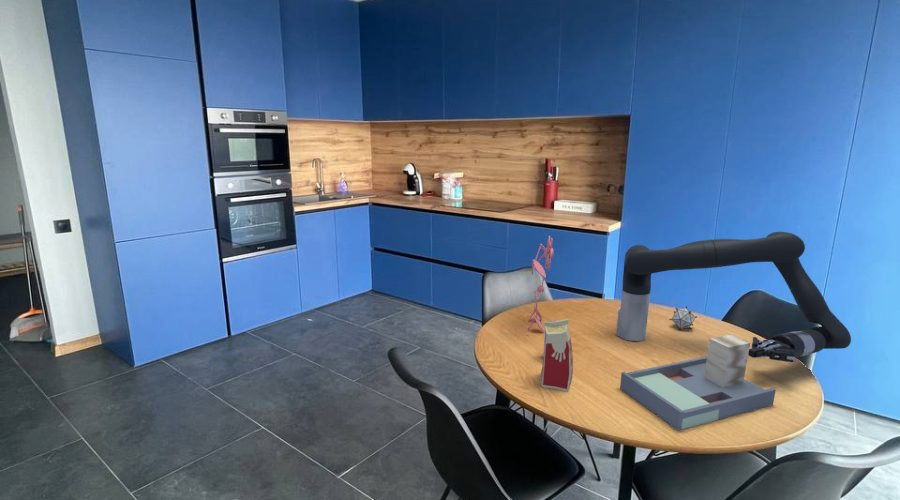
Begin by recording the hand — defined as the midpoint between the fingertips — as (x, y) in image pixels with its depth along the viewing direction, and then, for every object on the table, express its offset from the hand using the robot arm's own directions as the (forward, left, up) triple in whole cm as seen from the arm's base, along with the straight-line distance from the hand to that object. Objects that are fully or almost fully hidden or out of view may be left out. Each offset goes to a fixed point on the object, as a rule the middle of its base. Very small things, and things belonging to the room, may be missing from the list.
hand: (751, 353), depth 133 cm
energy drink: (-51, -22, -10) cm, 57 cm away
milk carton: (-43, -35, -10) cm, 57 cm away
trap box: (-10, -17, -9) cm, 22 cm away
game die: (-25, +32, -10) cm, 42 cm away
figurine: (-65, 0, -10) cm, 66 cm away
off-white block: (-5, -8, -6) cm, 12 cm away
